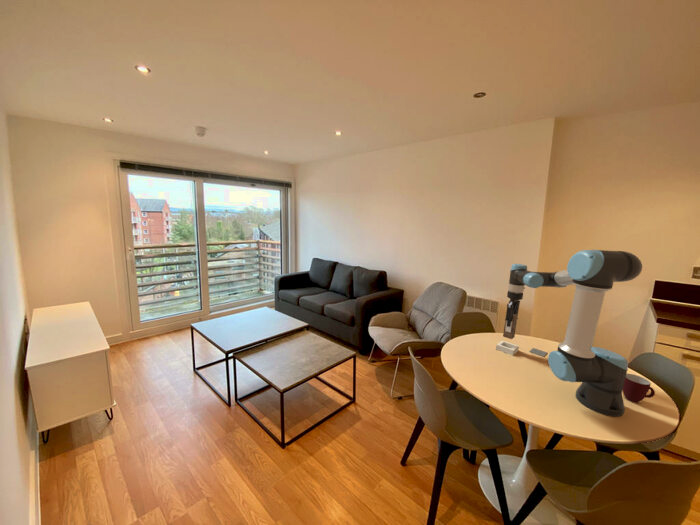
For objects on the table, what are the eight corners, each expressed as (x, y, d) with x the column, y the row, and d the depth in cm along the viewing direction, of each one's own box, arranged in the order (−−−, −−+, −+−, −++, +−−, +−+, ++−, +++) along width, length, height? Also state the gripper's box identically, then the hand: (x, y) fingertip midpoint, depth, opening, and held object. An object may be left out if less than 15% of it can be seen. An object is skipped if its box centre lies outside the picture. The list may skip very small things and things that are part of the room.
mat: (543, 356, 152) (543, 356, 152) (529, 351, 158) (529, 351, 158) (547, 353, 157) (547, 352, 157) (533, 348, 162) (533, 347, 162)
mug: (641, 396, 120) (647, 375, 118) (658, 409, 112) (663, 387, 111) (614, 392, 122) (618, 372, 120) (628, 404, 114) (633, 383, 113)
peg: (511, 339, 154) (514, 316, 152) (502, 336, 158) (506, 314, 155) (514, 337, 157) (517, 315, 155) (505, 334, 161) (509, 312, 158)
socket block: (512, 355, 152) (513, 350, 152) (495, 349, 159) (496, 344, 159) (518, 350, 158) (519, 346, 158) (501, 345, 165) (502, 340, 164)
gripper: (517, 295, 144) (511, 336, 148) (528, 290, 156) (522, 328, 160) (502, 292, 150) (496, 332, 154) (513, 287, 161) (508, 324, 165)
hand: (509, 330), depth 157 cm, fingers closed on peg, 4 cm apart
